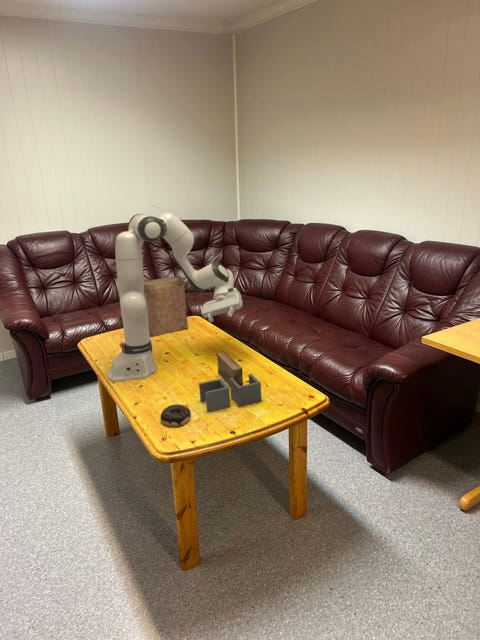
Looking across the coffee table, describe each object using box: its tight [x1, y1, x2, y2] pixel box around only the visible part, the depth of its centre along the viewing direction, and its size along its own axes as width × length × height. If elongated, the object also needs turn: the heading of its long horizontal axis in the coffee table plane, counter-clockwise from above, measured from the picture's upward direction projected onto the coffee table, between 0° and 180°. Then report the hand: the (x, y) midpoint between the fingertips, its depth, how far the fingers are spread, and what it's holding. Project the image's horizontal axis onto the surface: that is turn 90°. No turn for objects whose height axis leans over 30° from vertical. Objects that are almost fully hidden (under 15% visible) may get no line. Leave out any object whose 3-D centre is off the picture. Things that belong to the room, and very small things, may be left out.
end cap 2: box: [229, 373, 262, 407], centre depth 179 cm, size 9×9×8 cm
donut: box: [160, 403, 192, 427], centre depth 168 cm, size 11×12×4 cm
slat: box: [216, 351, 244, 387], centre depth 195 cm, size 4×20×10 cm, turn 22°
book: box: [144, 275, 189, 338], centre depth 257 cm, size 25×9×30 cm, turn 120°
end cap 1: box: [198, 378, 231, 413], centre depth 177 cm, size 9×9×8 cm
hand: (220, 318), depth 207 cm, fingers open, 8 cm apart
